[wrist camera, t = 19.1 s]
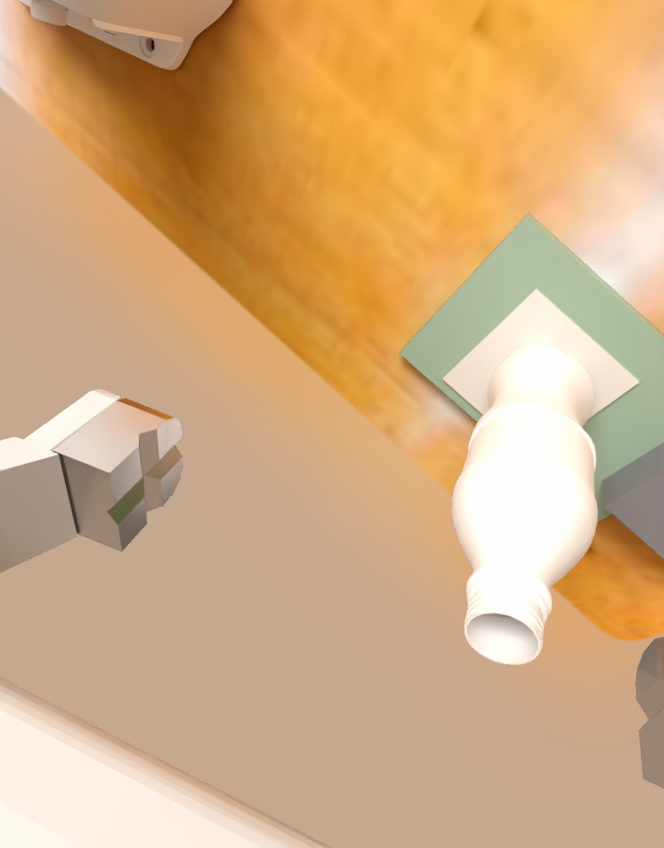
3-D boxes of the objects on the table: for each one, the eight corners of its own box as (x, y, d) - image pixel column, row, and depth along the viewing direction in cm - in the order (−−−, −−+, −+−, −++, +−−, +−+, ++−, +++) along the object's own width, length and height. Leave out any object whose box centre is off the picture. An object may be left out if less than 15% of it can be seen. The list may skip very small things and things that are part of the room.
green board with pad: (403, 346, 46) (387, 370, 43) (528, 212, 38) (522, 226, 34) (635, 551, 48) (640, 592, 44) (806, 464, 39) (831, 506, 35)
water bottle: (502, 425, 45) (435, 689, 25) (484, 343, 42) (393, 567, 22) (599, 415, 41) (612, 712, 21) (587, 326, 39) (589, 571, 19)
